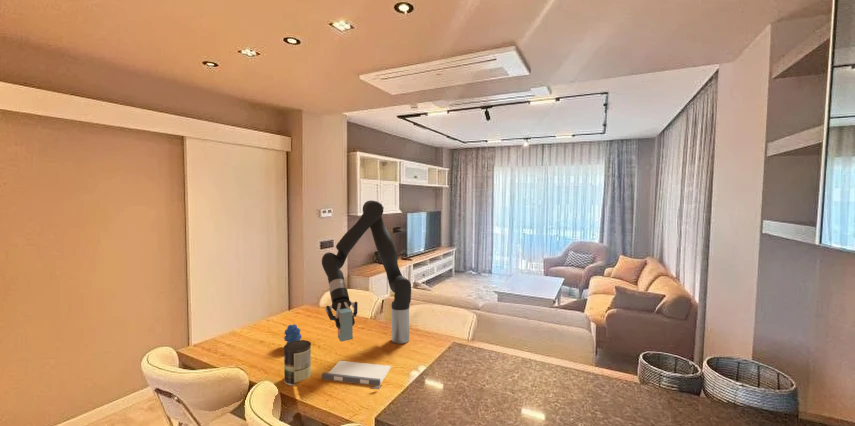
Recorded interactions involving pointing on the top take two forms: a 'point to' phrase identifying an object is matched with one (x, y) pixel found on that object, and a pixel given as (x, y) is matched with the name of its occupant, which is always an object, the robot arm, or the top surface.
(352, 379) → the shelf
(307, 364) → the coffee can
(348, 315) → the carton
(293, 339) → the grapes
